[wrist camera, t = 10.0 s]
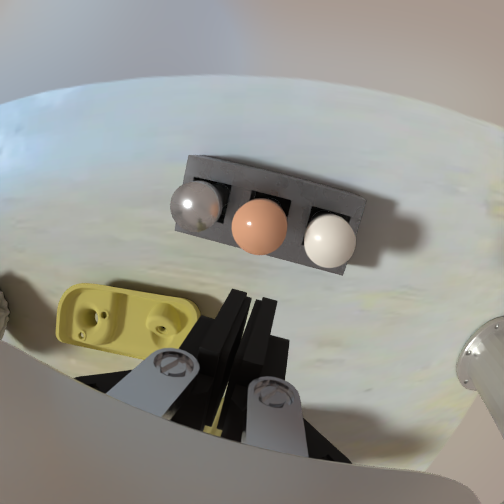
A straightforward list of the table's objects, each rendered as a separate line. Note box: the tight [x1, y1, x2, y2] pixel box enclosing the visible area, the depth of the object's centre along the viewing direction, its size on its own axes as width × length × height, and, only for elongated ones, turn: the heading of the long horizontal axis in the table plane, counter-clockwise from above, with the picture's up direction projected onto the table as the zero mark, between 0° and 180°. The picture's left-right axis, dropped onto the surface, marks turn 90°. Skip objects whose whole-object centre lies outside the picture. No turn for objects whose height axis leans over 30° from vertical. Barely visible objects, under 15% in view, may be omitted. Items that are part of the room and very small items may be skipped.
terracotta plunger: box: [232, 198, 288, 255], centre depth 30 cm, size 4×4×8 cm
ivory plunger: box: [304, 210, 356, 268], centre depth 31 cm, size 4×4×8 cm
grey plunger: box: [170, 181, 230, 232], centre depth 32 cm, size 4×4×8 cm
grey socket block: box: [175, 155, 366, 275], centre depth 34 cm, size 18×8×4 cm, turn 77°
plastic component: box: [56, 283, 201, 360], centre depth 41 cm, size 20×7×10 cm
